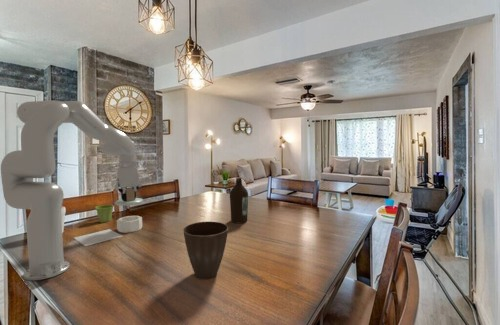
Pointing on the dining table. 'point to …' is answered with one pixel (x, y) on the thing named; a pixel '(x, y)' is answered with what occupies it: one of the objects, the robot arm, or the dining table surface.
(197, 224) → the plant pot
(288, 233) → the dining table surface
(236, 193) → the olive oil
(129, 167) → the robot arm
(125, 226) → the bowl
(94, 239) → the mat
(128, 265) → the dining table surface
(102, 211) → the plant pot
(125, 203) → the lid
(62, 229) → the foam cup
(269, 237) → the dining table surface
